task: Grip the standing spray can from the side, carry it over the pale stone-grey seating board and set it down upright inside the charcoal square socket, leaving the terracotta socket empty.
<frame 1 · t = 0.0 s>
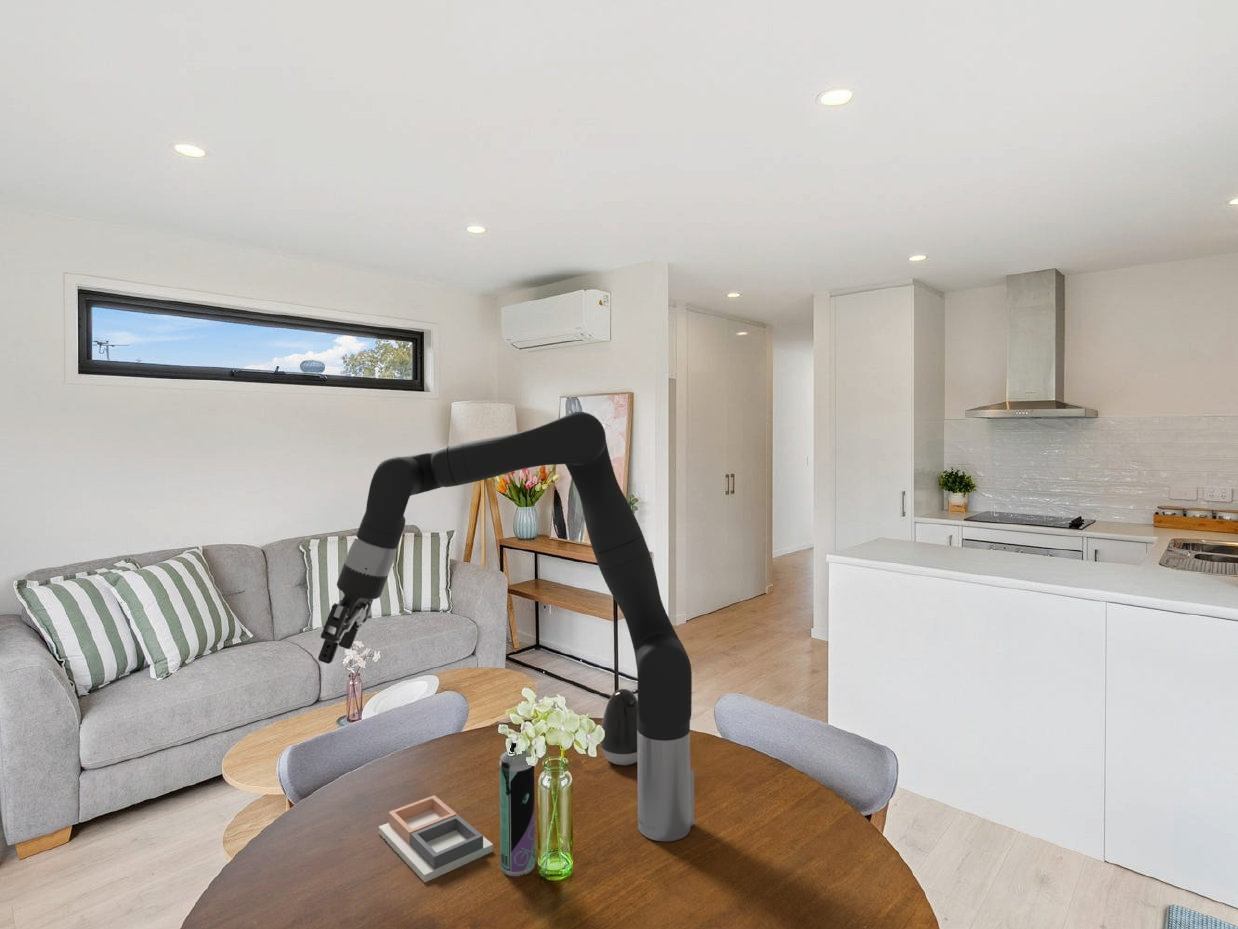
hand: (334, 654, 115), 31 cm above the table, tool tilted 20°, fingers open, 8 cm apart
black egg shaped dome: (623, 761, 143), on the table
seating board: (434, 842, 113), on the table
spray can: (518, 866, 106), on the table
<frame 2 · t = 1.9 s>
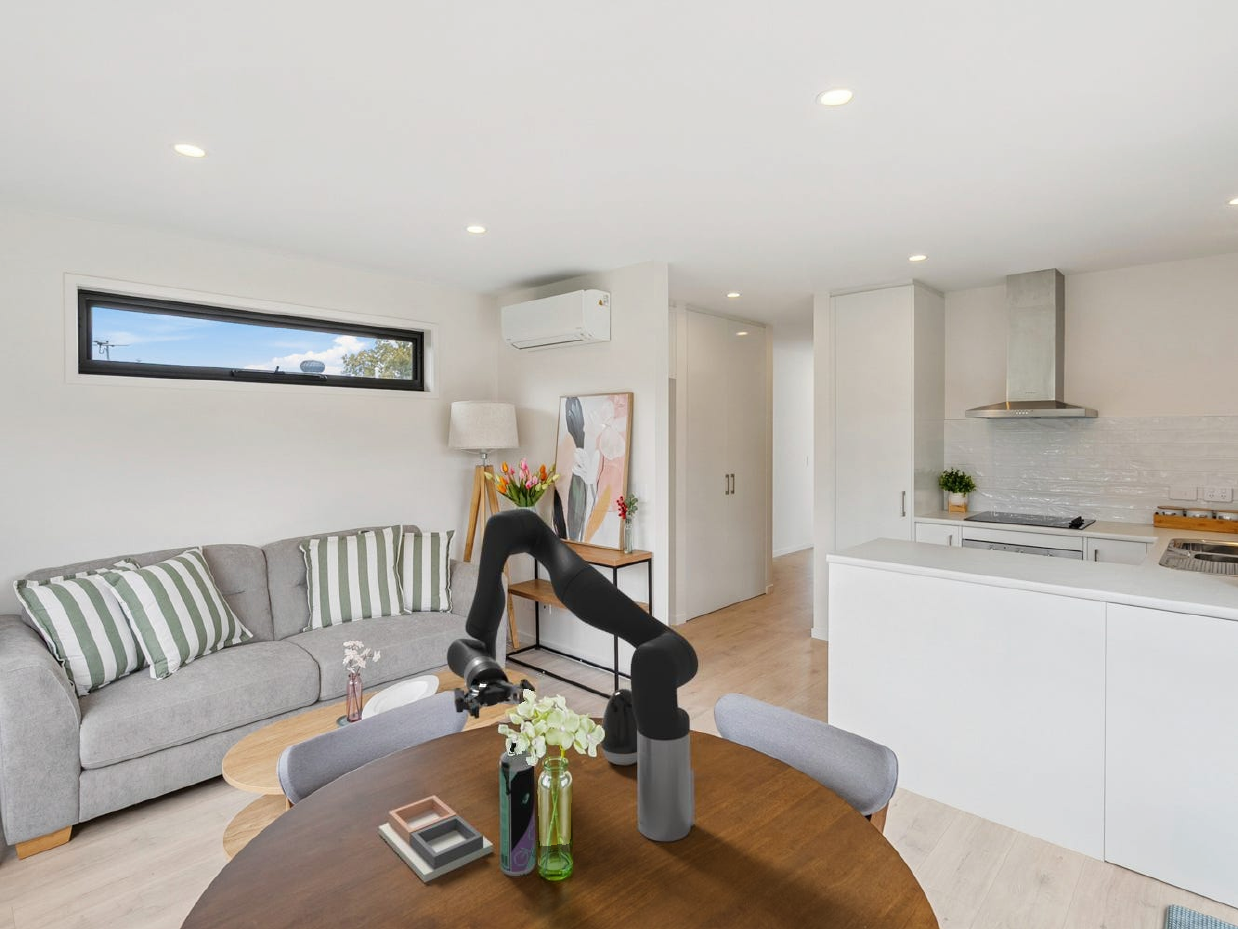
hand: (502, 709, 116), 21 cm above the table, tool horizontal, fingers open, 8 cm apart
nothing on the table moved.
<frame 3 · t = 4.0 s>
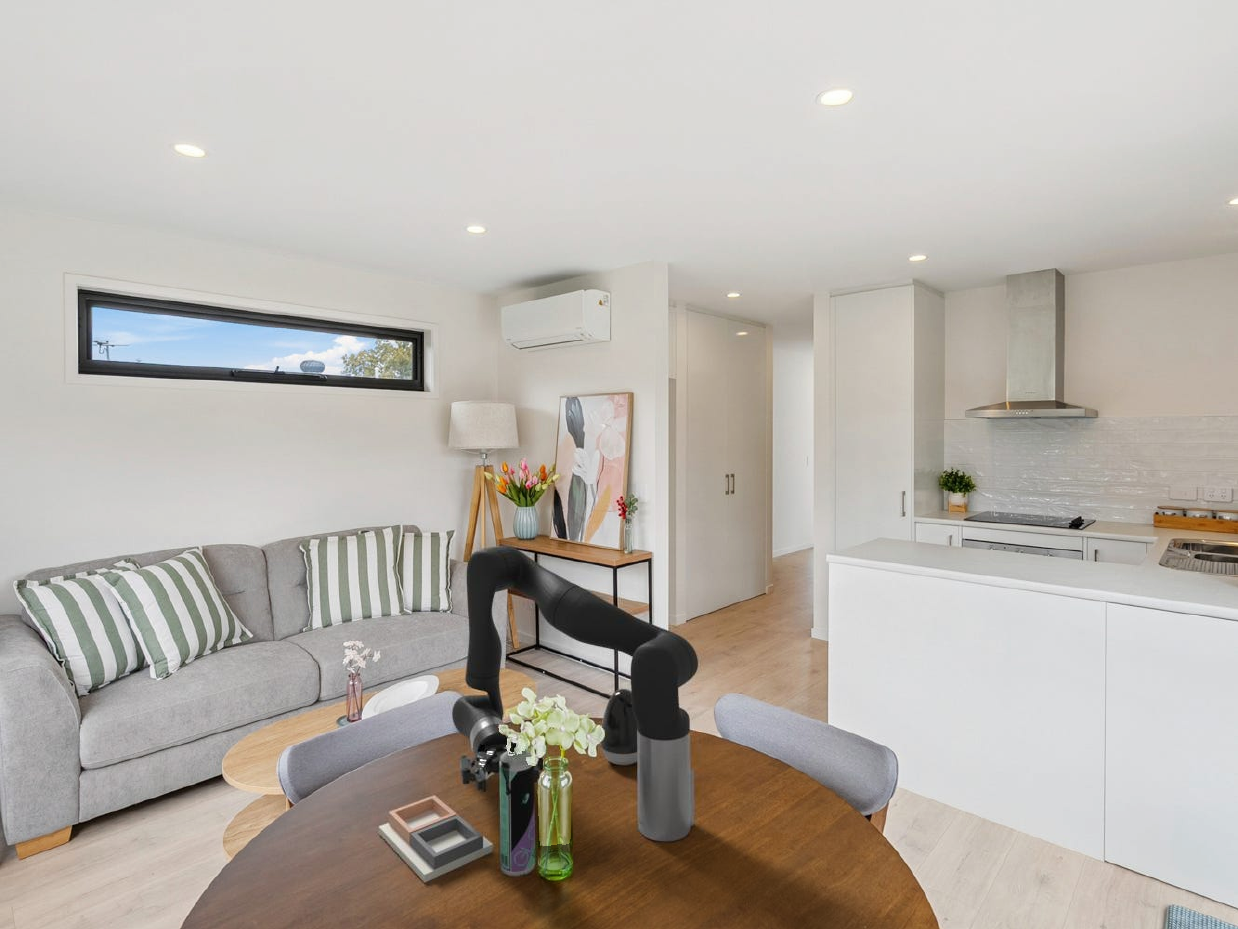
hand: (510, 782, 111), 11 cm above the table, tool horizontal, fingers open, 8 cm apart
nothing on the table moved.
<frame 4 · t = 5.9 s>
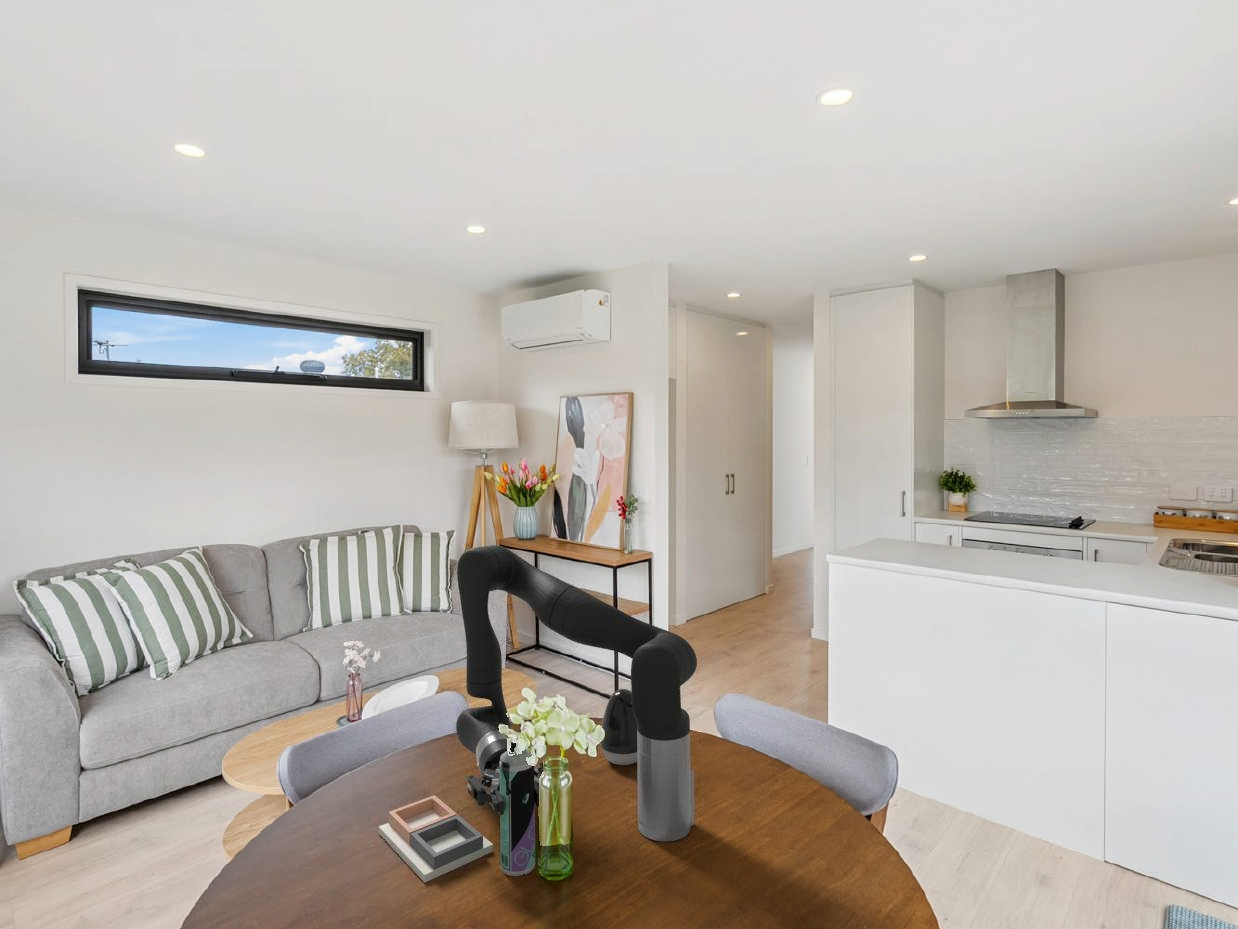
hand: (521, 804, 104), 11 cm above the table, tool horizontal, fingers closed on spray can, 5 cm apart
spray can: (518, 866, 106), on the table, touching gripper
everything else where it was.
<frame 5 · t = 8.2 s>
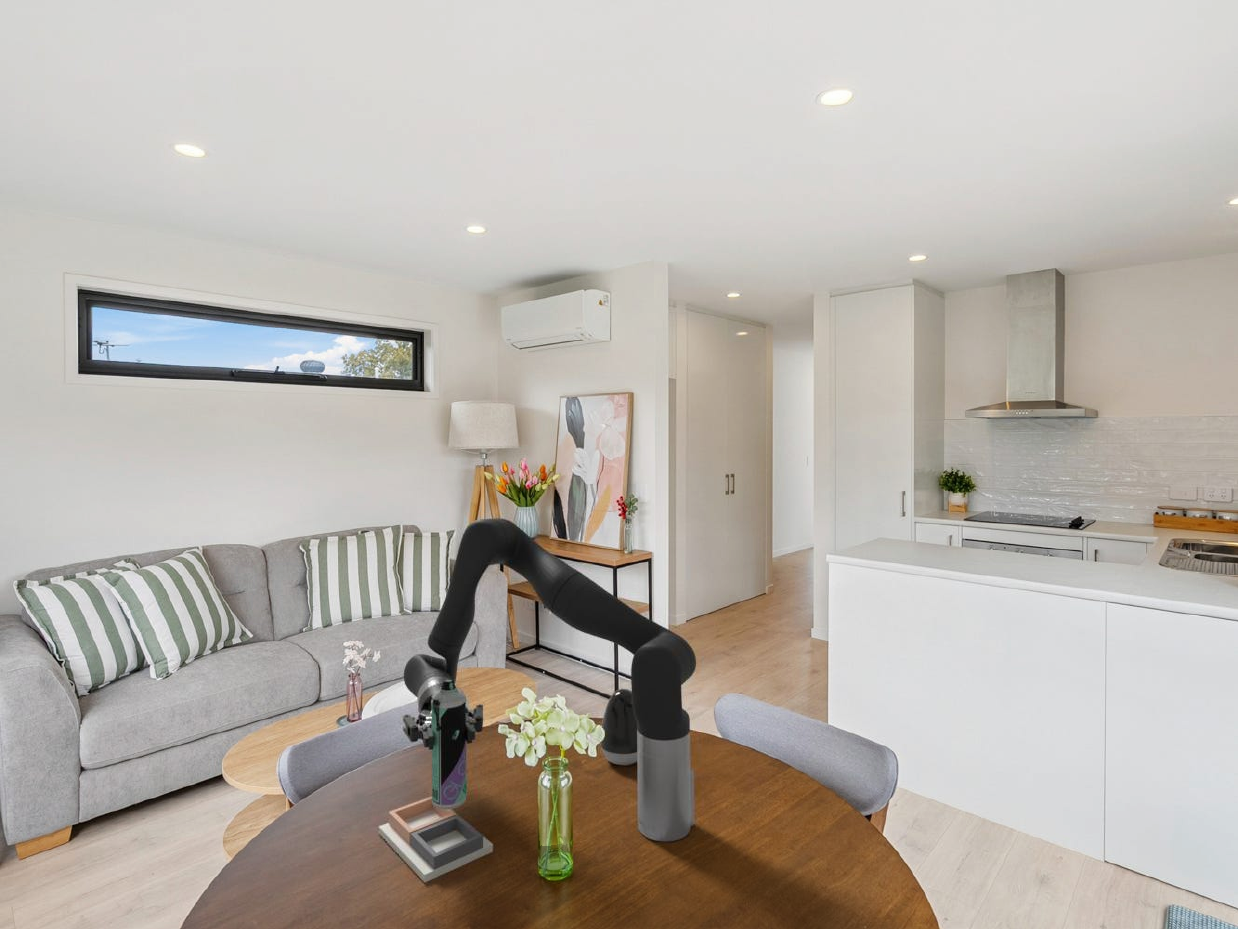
hand: (450, 740, 107), 20 cm above the table, tool horizontal, fingers closed on spray can, 5 cm apart
spray can: (449, 801, 110), point 9 cm above the table, touching gripper
everything else where it was.
when the fingers open (13 cm above the table, at t = 10.3 s): spray can drops 1 cm, resting on seating board.
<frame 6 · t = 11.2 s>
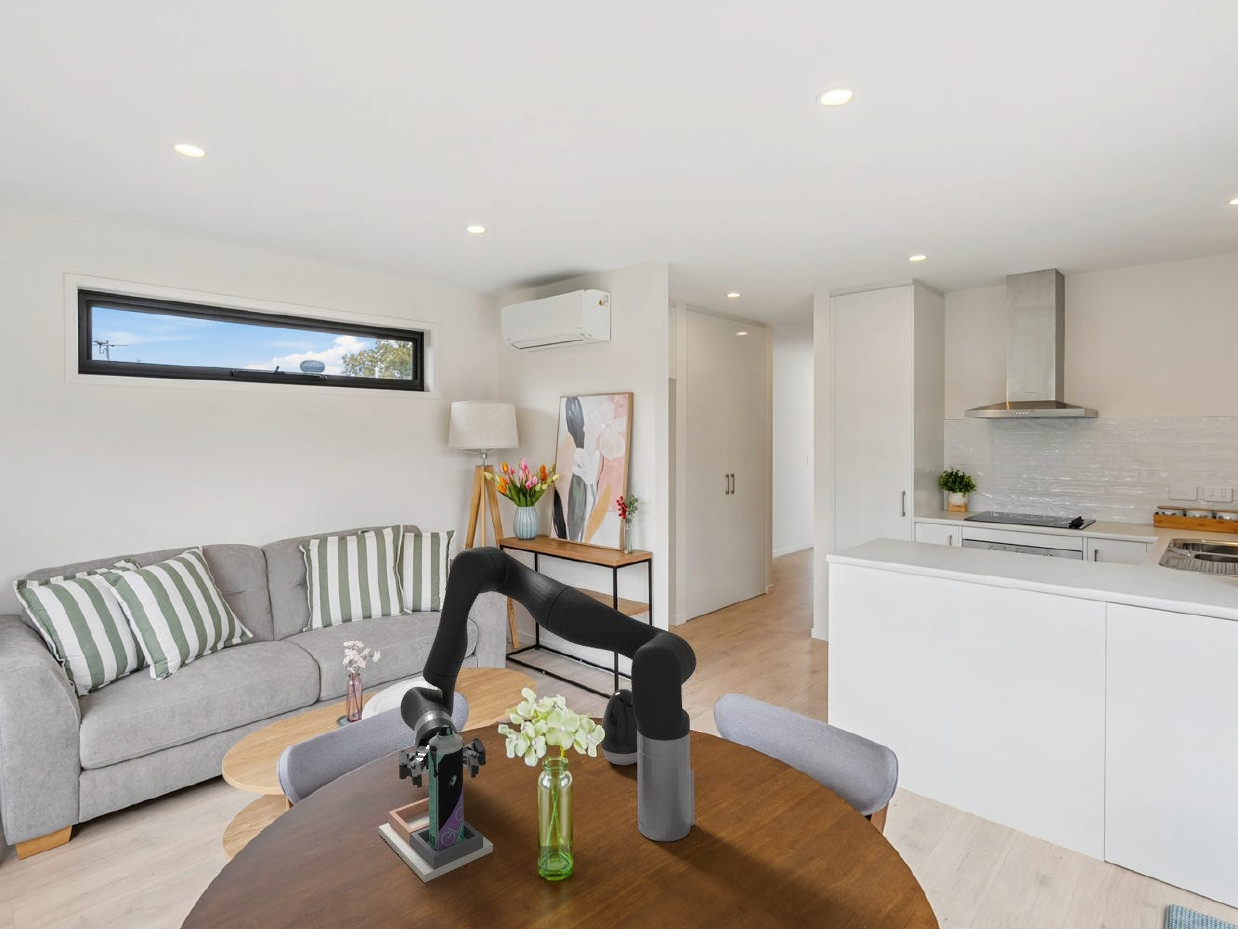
hand: (447, 777, 108), 14 cm above the table, tool horizontal, fingers open, 8 cm apart
spray can: (446, 847, 110), point 1 cm above the table, touching seating board
everything else where it was.
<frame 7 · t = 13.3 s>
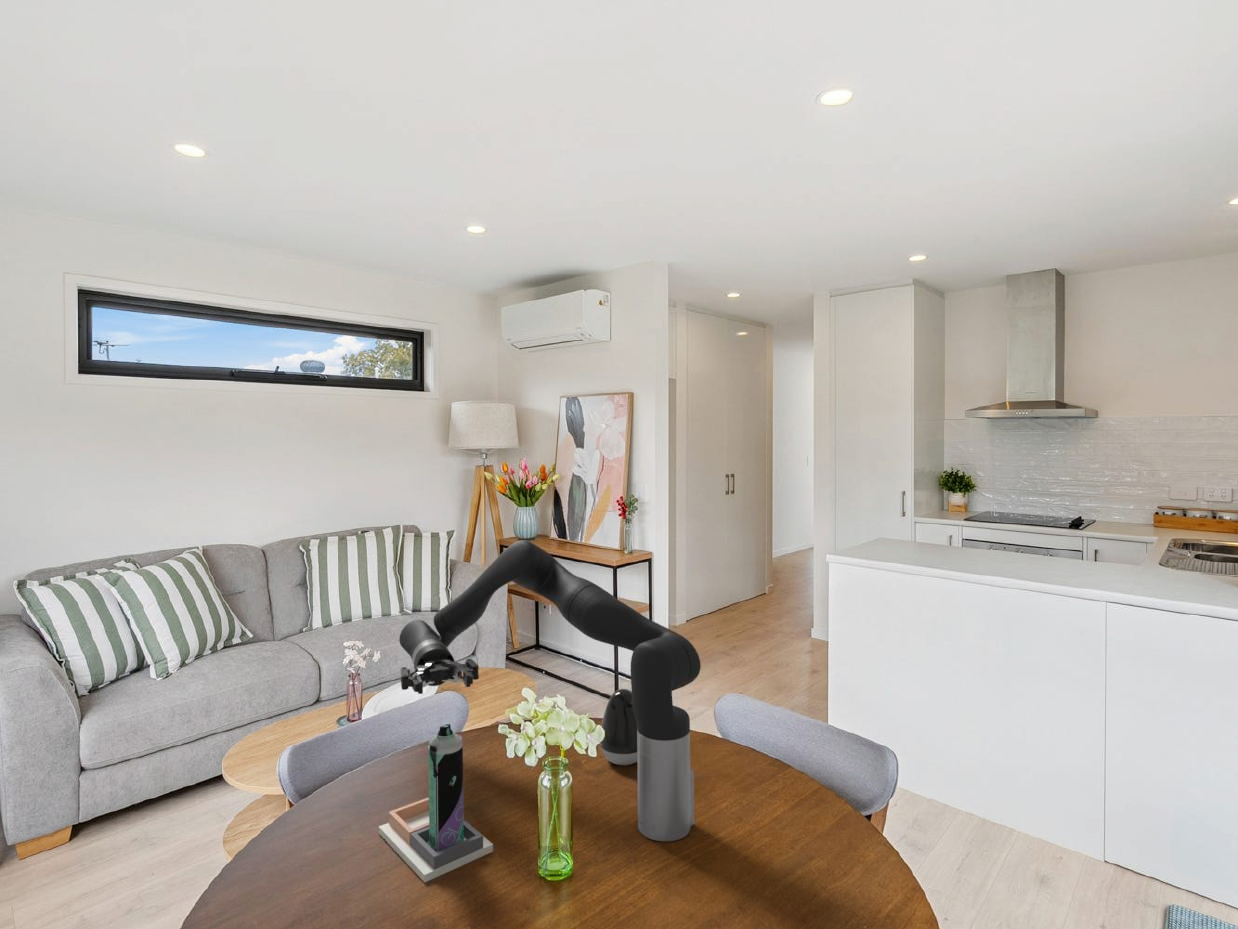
hand: (445, 685, 122), 24 cm above the table, tool horizontal, fingers open, 8 cm apart
nothing on the table moved.
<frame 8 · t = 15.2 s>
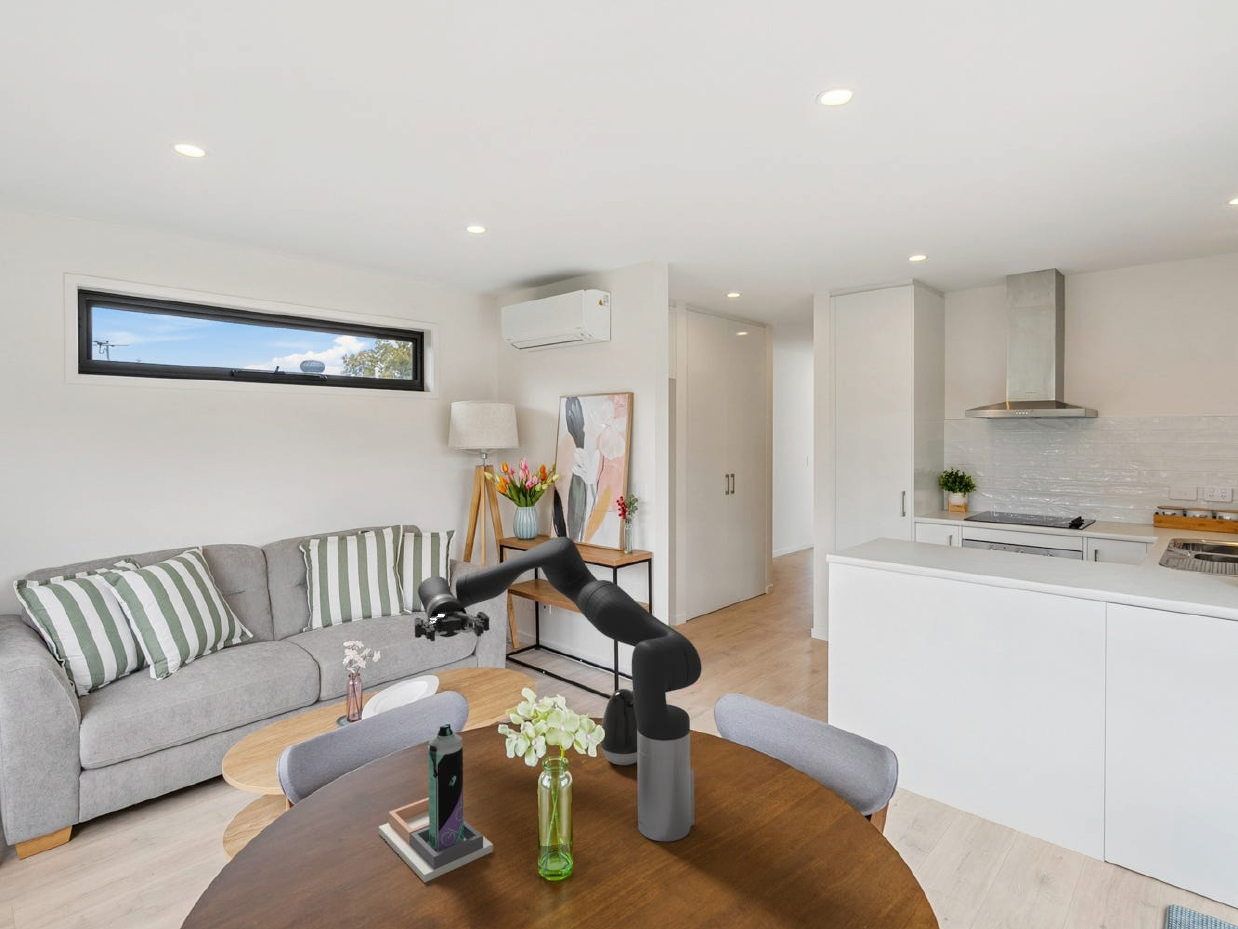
hand: (456, 633, 126), 32 cm above the table, tool horizontal, fingers open, 8 cm apart
nothing on the table moved.
at the end: spray can 0.1 cm from the target spot on the seating board, point 1.0 cm above the seating board's base; spray can tilted 0°; the gripper is holding nothing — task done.
